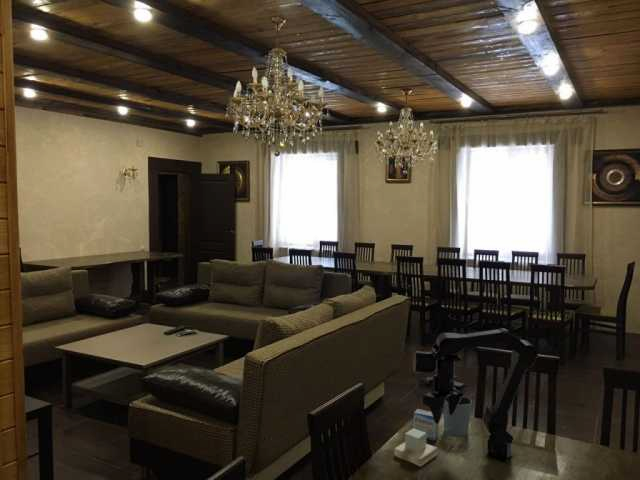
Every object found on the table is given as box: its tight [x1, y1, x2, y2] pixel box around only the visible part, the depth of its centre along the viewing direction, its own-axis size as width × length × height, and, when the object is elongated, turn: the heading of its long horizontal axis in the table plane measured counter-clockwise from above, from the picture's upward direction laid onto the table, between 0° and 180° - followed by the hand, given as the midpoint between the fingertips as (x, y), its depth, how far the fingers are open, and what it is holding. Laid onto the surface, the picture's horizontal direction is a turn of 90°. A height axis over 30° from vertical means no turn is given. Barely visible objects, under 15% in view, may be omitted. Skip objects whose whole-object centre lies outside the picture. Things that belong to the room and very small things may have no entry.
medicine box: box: [412, 408, 439, 441], centre depth 188 cm, size 8×4×9 cm, turn 62°
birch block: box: [393, 441, 438, 467], centre depth 175 cm, size 10×10×3 cm
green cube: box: [404, 428, 427, 453], centre depth 175 cm, size 5×5×5 cm
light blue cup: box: [442, 395, 473, 438], centre depth 192 cm, size 10×10×12 cm
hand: (443, 418), depth 175 cm, fingers open, 9 cm apart
